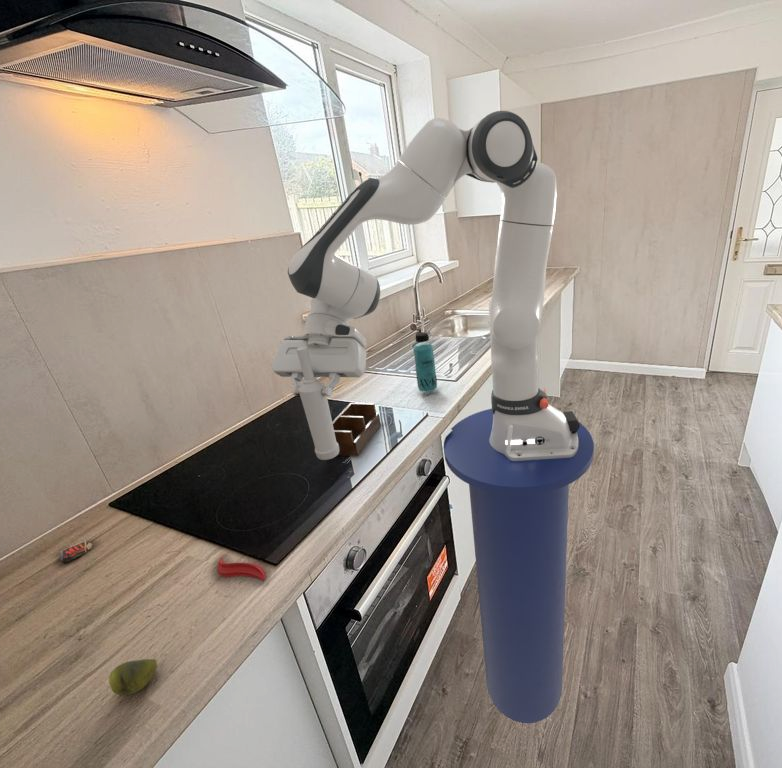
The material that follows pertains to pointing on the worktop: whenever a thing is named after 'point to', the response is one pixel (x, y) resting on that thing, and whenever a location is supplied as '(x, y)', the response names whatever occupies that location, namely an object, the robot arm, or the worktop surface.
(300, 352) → the bottle
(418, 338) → the beverage bottle
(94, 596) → the worktop surface
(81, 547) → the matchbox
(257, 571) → the cayenne pepper
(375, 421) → the box
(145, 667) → the olive green oval lump
